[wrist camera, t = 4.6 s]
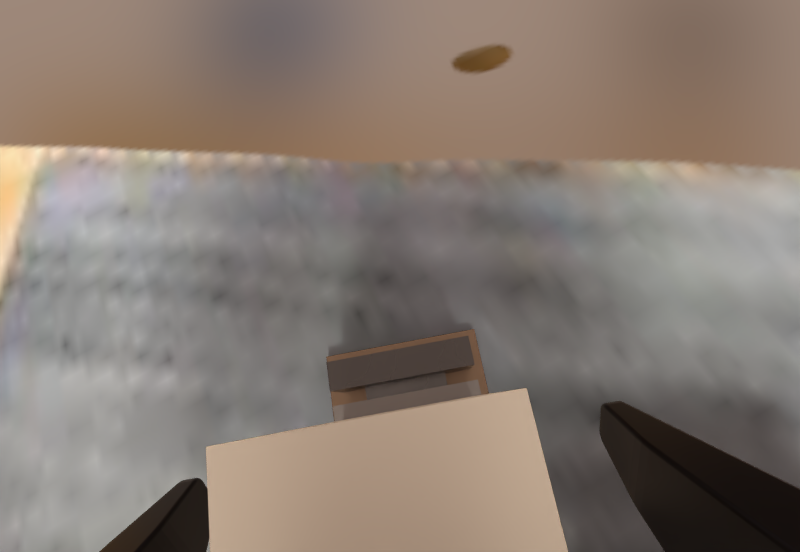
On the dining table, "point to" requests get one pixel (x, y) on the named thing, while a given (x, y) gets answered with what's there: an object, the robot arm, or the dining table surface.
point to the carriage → (391, 480)
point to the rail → (405, 368)
